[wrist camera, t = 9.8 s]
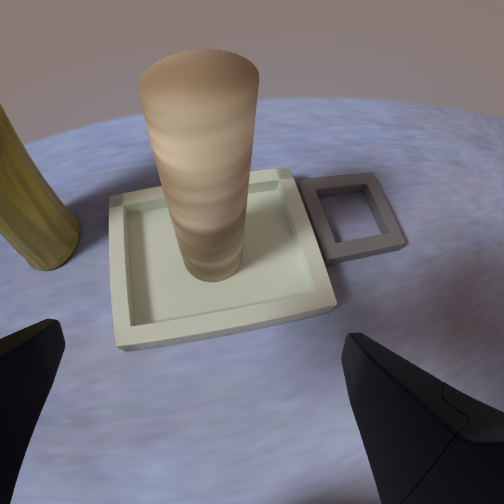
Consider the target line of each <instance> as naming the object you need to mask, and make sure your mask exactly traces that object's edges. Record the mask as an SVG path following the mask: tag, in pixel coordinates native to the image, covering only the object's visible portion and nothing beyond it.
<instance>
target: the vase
mask: <svg viewBox="0 0 504 504" xmlns="http://www.w3.org/2000/svg"><path fill="white" fill-rule="evenodd" d="M0 234H1V235H2V236H3V237H4V238H5V239H6V240H7V241H8V242H9V243H10V244H11V246H12V247H13V248H14V249H15V250H16V251H17V252H18V253H19V254H20V255H22V256H23V257H24V258H25V260H26V261H27V262H28V264H29V265H30V266H31V267H33V268H35V269H37V270H40V271H48V270H52V269H55V268H57V267H59V266H60V265H62V264H63V263H64V262H65V261H66V260H67V259H68V258H69V257H70V256H71V255H72V253H73V252H74V250H75V248H76V246H77V243H78V240H79V235H80V229H79V222H78V220H77V218H76V216H75V215H74V214H73V213H72V212H71V211H70V210H69V209H68V208H67V207H66V206H65V205H64V204H63V203H62V201H61V200H60V199H59V198H58V196H57V195H56V194H55V192H54V191H53V190H52V188H51V187H50V186H49V184H48V183H47V182H46V180H45V179H44V178H43V176H42V175H41V173H40V172H39V170H38V169H37V167H36V165H35V164H34V162H33V161H32V159H31V157H30V156H29V154H28V153H27V151H26V149H25V147H24V146H23V144H22V142H21V141H20V139H19V137H18V135H17V134H16V132H15V130H14V128H13V126H12V125H11V123H10V121H9V119H8V117H7V115H6V114H5V112H4V110H3V108H2V107H1V105H0Z"/></svg>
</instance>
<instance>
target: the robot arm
mask: <svg viewBox="0 0 504 504" xmlns="http://www.w3.org/2000/svg"><path fill="white" fill-rule="evenodd" d="M64 349H65V339H64V336H63V332H62V328H61V325H60V322H59V321H58V320H55V319H45V320H43V321H40V322H38V323H36V324H33V325H31V326H29V327H26V328H24V329H22V330H20V331H17V332H15V333H13V334H10V335H8V336H6V337H3V338H1V339H0V504H10V502H11V499H12V495H13V491H14V487H15V484H16V481H17V478H18V474H19V471H20V468H21V465H22V462H23V459H24V456H25V453H26V450H27V448H28V445H29V442H30V439H31V437H32V434H33V431H34V429H35V426H36V423H37V421H38V418H39V416H40V413H41V411H42V409H43V406H44V404H45V401H46V399H47V397H48V394H49V392H50V390H51V387H52V385H53V382H54V379H55V376H56V373H57V370H58V367H59V364H60V361H61V358H62V355H63V352H64ZM341 360H342V366H343V371H344V375H345V380H346V385H347V390H348V395H349V400H350V403H351V407H352V410H353V413H354V416H355V419H356V422H357V425H358V428H359V431H360V434H361V438H362V441H363V444H364V447H365V450H366V453H367V457H368V460H369V463H370V466H371V469H372V473H373V476H374V479H375V483H376V486H377V489H378V493H379V496H380V500H381V503H382V504H504V412H502V411H500V410H497V409H495V408H493V407H491V406H489V405H487V404H484V403H482V402H480V401H478V400H476V399H474V398H472V397H470V396H468V395H466V394H464V393H462V392H460V391H459V390H457V389H455V388H453V387H451V386H450V385H448V384H446V383H445V382H442V381H441V380H439V379H438V378H436V377H434V376H433V375H431V374H429V373H428V372H426V371H424V370H422V369H421V368H419V367H417V366H416V365H414V364H412V363H411V362H409V361H407V360H406V359H404V358H402V357H401V356H399V355H397V354H395V353H394V352H392V351H390V350H389V349H387V348H385V347H384V346H382V345H380V344H379V343H377V342H375V341H374V340H372V339H370V338H369V337H367V336H365V335H364V334H362V333H349V334H347V336H346V339H345V344H344V348H343V352H342V357H341Z"/></svg>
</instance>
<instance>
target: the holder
mask: <svg viewBox="0 0 504 504" xmlns="http://www.w3.org/2000/svg"><path fill="white" fill-rule="evenodd" d="M296 186H297V188H298V191H299V193H300V196H301V199H302V202H303V204H304V207H305V210H306V213H307V215H308V218H309V221H310V224H311V226H312V229H313V232H314V235H315V238H316V241H317V244H318V246H319V249H320V252H321V255H322V258H323V261H324V264H325V265H330V264H335V263H340V262H345V261H349V260H354V259H359V258H364V257H368V256H373V255H377V254H382V253H387V252H391V251H396V250H400V249H401V248H402V247H403V246H404V245H405V244H406V242H405V240H404V237H403V235H402V233H401V231H400V228H399V226H398V224H397V222H396V220H395V217H394V215H393V213H392V211H391V209H390V207H389V205H388V203H387V200H386V198H385V196H384V194H383V192H382V190H381V188H380V186H379V184H378V182H377V180H376V179H375V177H374V175H373V173H361V174H349V175H339V176H329V177H319V178H310V179H301V180H298V181H297V184H296ZM361 191H363V193H364V195H365V198H366V200H367V202H368V204H369V206H370V208H371V211H372V213H373V215H374V217H375V220H376V222H377V224H378V226H379V229H380V231H381V233H382V235H377V236H371V237H366V238H360V239H355V240H350V241H344V242H339V243H336V242H335V239H334V237H333V234H332V231H331V229H330V226H329V223H328V221H327V218H326V216H325V213H324V210H323V208H322V205H321V203H320V200H319V198H318V197H320V196H327V195H335V194H344V193H352V192H361Z"/></svg>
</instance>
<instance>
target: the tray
mask: <svg viewBox="0 0 504 504" xmlns="http://www.w3.org/2000/svg"><path fill="white" fill-rule="evenodd" d="M109 263H110V285H111V300H112V313H113V324H114V334H115V343H116V347H118V348H120V349H122V350H124V351H126V352H127V351H135V350H142V349H149V348H155V347H162V346H168V345H175V344H181V343H187V342H193V341H198V340H204V339H210V338H215V337H220V336H226V335H231V334H236V333H241V332H246V331H251V330H255V329H260V328H265V327H269V326H274V325H279V324H283V323H287V322H292V321H296V320H300V319H305V318H309V317H313V316H317V315H321V314H325V313H328V312H330V311H331V310H332V309H333V308H334V307H335V306H336V305H337V301H336V298H335V295H334V292H333V289H332V286H331V282H330V279H329V276H328V273H327V270H326V267H325V264H324V261H323V258H322V255H321V252H320V249H319V246H318V244H317V241H316V238H315V235H314V232H313V229H312V226H311V224H310V221H309V218H308V215H307V213H306V210H305V207H304V204H303V202H302V199H301V196H300V193H299V191H298V188H297V186H296V183H295V180H294V178H293V175H292V172H291V170H290V167H286V168H277V169H269V170H260V171H253V172H250V177H249V187H248V198H247V209H246V220H245V231H244V242H243V253H242V261H241V264H240V266H239V268H238V270H237V271H236V272H235V273H234V274H233V275H232V276H231V277H229V278H228V279H225V280H223V281H220V282H204V281H201V280H199V279H197V278H195V277H194V276H192V275H191V274H190V273H189V272H188V270H187V269H186V267H185V265H184V261H183V258H182V255H181V252H180V248H179V245H178V242H177V238H176V235H175V231H174V228H173V225H172V221H171V218H170V214H169V210H168V207H167V203H166V200H165V196H164V192H163V189H162V186H158V187H153V188H148V189H142V190H137V191H132V192H128V193H123V194H118V195H113V196H109Z"/></svg>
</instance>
